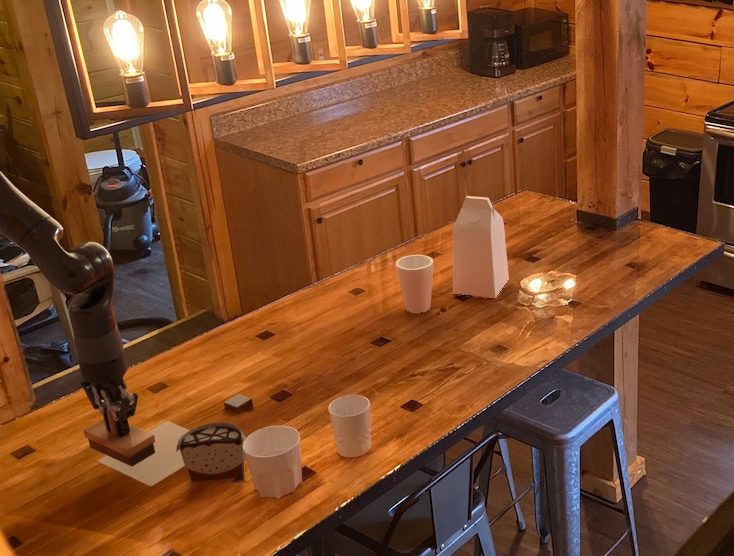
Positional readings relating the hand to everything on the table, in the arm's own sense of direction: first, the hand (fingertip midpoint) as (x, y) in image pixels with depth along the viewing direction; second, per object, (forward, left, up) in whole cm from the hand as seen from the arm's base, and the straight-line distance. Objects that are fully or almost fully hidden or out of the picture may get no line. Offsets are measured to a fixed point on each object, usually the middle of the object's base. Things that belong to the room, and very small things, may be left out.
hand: (118, 432), depth 177 cm
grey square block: (+1, +26, -10) cm, 28 cm away
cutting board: (0, +7, -10) cm, 12 cm away
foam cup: (+2, +83, -10) cm, 83 cm away
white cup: (+31, +28, -10) cm, 43 cm away
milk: (+9, +101, -10) cm, 102 cm away
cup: (+27, +12, -10) cm, 31 cm away
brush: (0, 0, -4) cm, 4 cm away
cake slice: (+15, +9, -10) cm, 20 cm away
